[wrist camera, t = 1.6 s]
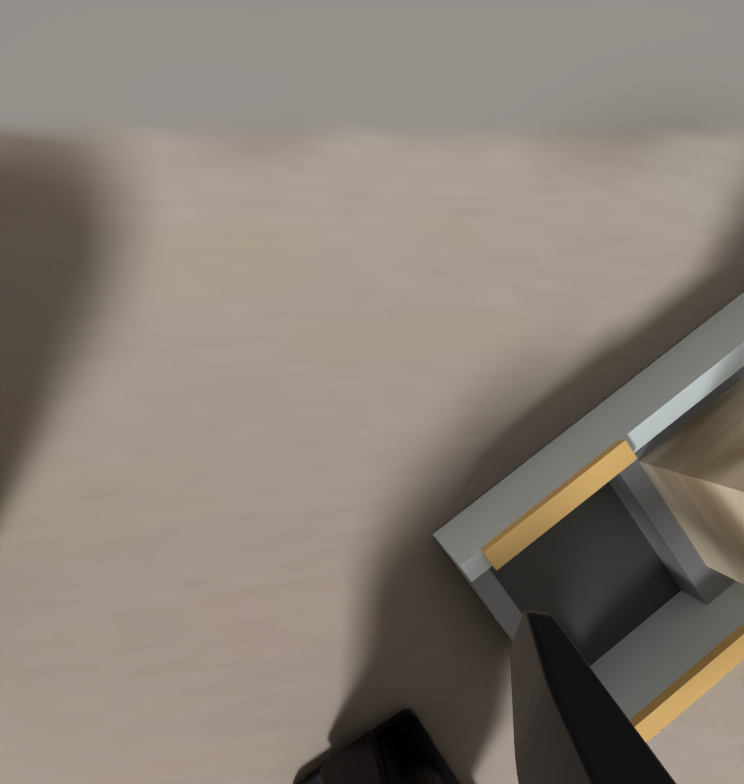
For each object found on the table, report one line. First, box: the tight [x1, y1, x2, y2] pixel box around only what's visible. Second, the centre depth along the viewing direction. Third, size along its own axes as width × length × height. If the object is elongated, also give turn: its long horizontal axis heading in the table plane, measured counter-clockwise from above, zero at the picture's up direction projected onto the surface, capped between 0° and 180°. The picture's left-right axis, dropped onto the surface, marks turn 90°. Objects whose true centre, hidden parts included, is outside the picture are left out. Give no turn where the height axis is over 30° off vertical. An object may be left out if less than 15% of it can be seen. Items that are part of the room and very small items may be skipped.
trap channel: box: [433, 292, 744, 743], centre depth 26 cm, size 24×11×4 cm, turn 126°
